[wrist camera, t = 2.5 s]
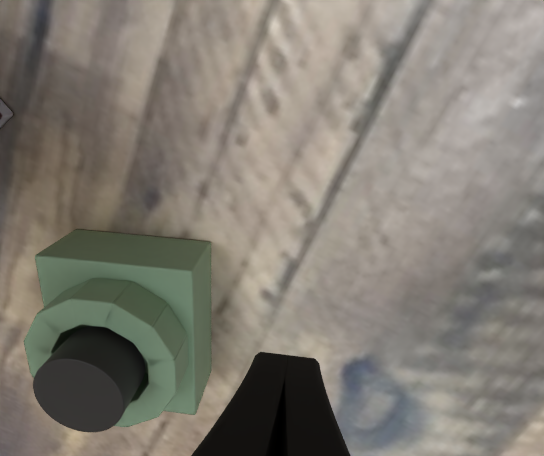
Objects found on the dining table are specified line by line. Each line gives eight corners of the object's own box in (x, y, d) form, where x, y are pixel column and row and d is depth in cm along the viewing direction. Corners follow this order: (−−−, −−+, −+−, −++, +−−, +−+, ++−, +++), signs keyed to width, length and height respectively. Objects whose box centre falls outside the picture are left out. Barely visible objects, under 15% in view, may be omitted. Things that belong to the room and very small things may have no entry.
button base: (211, 370, 22) (184, 448, 18) (93, 356, 23) (36, 428, 18) (211, 241, 19) (178, 293, 15) (75, 228, 20) (2, 274, 15)
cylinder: (148, 398, 17) (127, 438, 15) (70, 388, 18) (40, 426, 16) (142, 330, 16) (119, 365, 14) (59, 321, 16) (25, 353, 14)
